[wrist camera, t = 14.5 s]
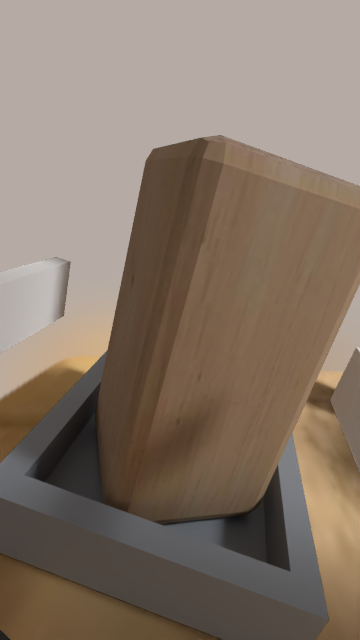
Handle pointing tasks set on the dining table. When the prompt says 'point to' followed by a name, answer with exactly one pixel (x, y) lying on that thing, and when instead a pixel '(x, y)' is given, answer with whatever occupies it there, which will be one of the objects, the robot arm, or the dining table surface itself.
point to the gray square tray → (160, 536)
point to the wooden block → (220, 326)
